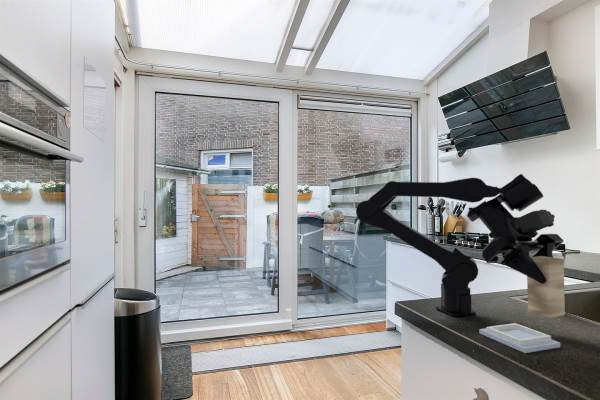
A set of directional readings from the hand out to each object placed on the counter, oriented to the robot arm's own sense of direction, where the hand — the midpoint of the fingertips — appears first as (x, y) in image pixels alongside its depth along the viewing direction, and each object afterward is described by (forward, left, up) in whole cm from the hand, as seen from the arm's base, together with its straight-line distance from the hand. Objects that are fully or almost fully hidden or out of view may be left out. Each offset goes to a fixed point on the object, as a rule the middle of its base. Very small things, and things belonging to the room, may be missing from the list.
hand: (552, 281), depth 69 cm
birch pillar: (-1, 0, -7) cm, 7 cm away
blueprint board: (0, -9, -11) cm, 14 cm away
